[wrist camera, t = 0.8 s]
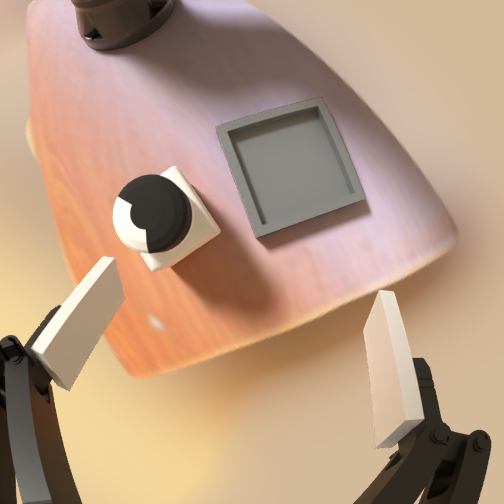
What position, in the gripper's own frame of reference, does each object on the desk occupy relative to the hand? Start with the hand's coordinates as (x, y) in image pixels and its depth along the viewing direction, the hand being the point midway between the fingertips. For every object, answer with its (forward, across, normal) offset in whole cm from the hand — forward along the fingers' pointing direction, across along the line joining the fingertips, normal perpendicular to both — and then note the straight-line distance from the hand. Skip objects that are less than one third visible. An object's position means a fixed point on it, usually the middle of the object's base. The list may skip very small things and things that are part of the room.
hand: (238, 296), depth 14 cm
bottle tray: (+23, +2, 0) cm, 23 cm away
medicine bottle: (+17, -10, -6) cm, 21 cm away
